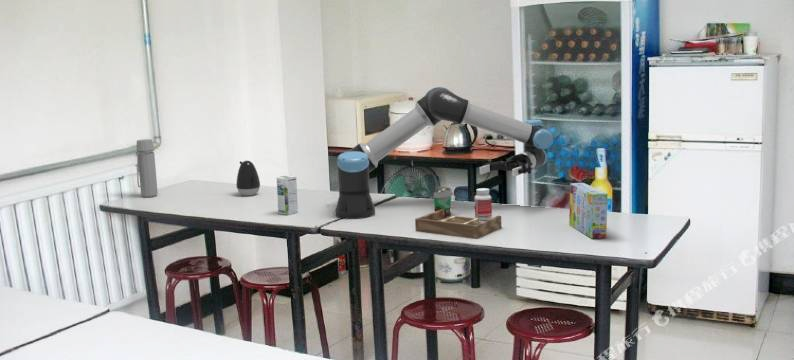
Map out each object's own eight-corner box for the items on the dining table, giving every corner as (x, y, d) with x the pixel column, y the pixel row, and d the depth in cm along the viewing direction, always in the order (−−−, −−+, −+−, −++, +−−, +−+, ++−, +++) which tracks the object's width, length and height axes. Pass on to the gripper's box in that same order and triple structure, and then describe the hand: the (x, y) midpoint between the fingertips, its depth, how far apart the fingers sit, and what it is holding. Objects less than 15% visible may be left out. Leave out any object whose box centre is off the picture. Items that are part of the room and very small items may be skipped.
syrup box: (277, 213, 330) (275, 177, 328) (289, 211, 334) (287, 174, 332) (287, 215, 326) (284, 178, 324) (298, 212, 331) (296, 176, 328)
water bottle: (150, 194, 381) (145, 138, 377) (162, 195, 376) (157, 139, 372) (133, 197, 374) (128, 141, 369) (145, 199, 369) (139, 142, 365)
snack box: (608, 238, 275) (608, 193, 273) (591, 239, 275) (592, 194, 272) (583, 224, 296) (583, 181, 293) (568, 225, 295) (568, 182, 292)
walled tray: (441, 220, 309) (441, 209, 308) (501, 227, 295) (501, 215, 294) (415, 230, 295) (415, 218, 294) (476, 238, 281) (476, 226, 280)
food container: (450, 219, 310) (450, 192, 308) (434, 219, 311) (433, 192, 309) (455, 212, 322) (454, 186, 320) (439, 212, 323) (438, 186, 321)
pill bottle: (495, 219, 308) (494, 189, 306) (482, 221, 305) (482, 191, 303) (484, 216, 313) (483, 187, 311) (471, 219, 310) (470, 189, 308)
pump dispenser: (252, 191, 378) (249, 157, 375) (265, 194, 370) (263, 160, 368) (232, 195, 371) (229, 161, 368) (245, 198, 363) (242, 163, 361)
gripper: (552, 174, 324) (527, 184, 307) (494, 170, 339) (467, 179, 322) (551, 155, 323) (526, 163, 306) (494, 151, 337) (467, 160, 320)
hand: (496, 171), depth 314 cm, fingers open, 13 cm apart
